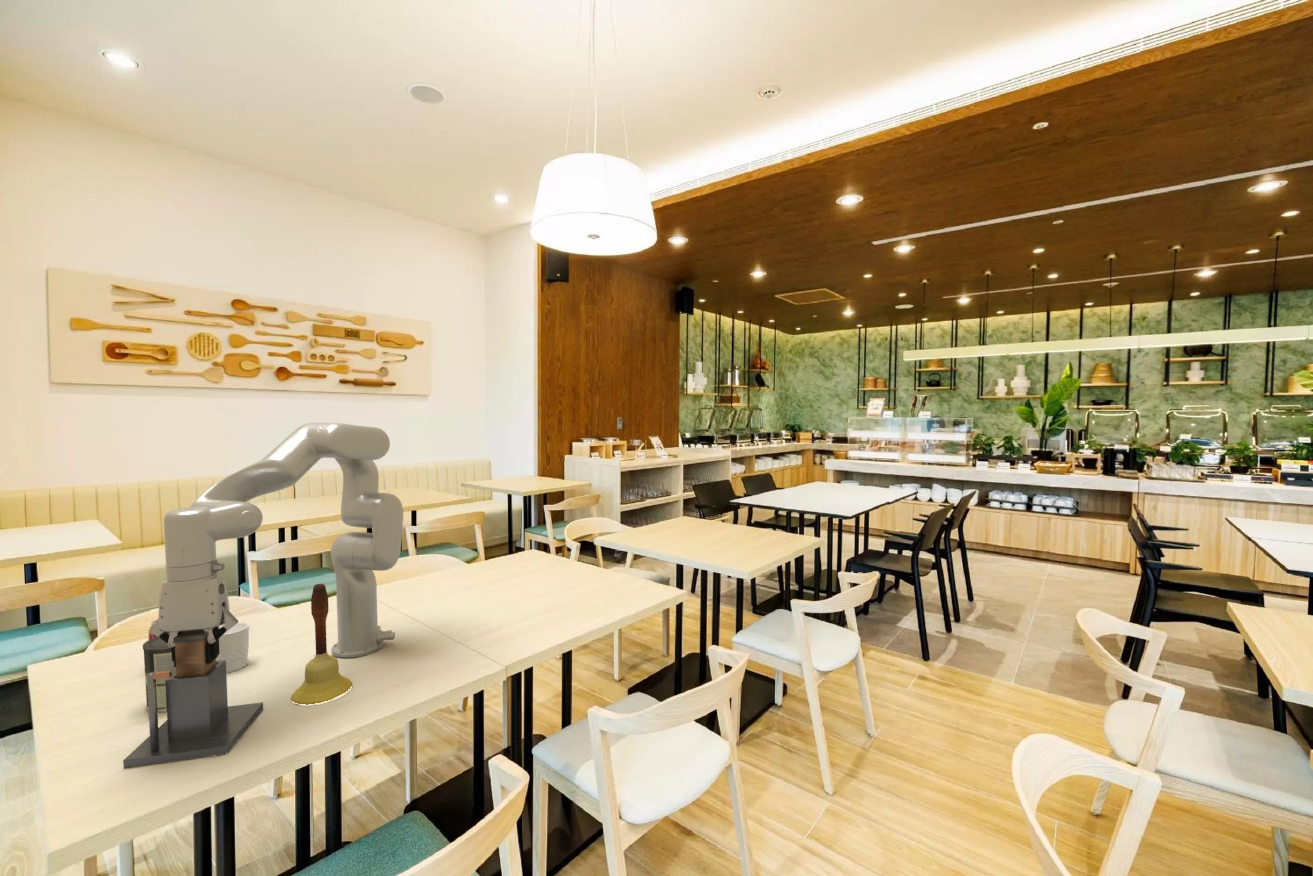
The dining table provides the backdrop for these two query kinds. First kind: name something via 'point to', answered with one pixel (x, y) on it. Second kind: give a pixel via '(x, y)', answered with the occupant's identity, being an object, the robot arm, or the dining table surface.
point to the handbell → (321, 660)
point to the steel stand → (192, 719)
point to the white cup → (234, 647)
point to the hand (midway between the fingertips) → (196, 661)
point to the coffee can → (158, 667)
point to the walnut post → (191, 654)
